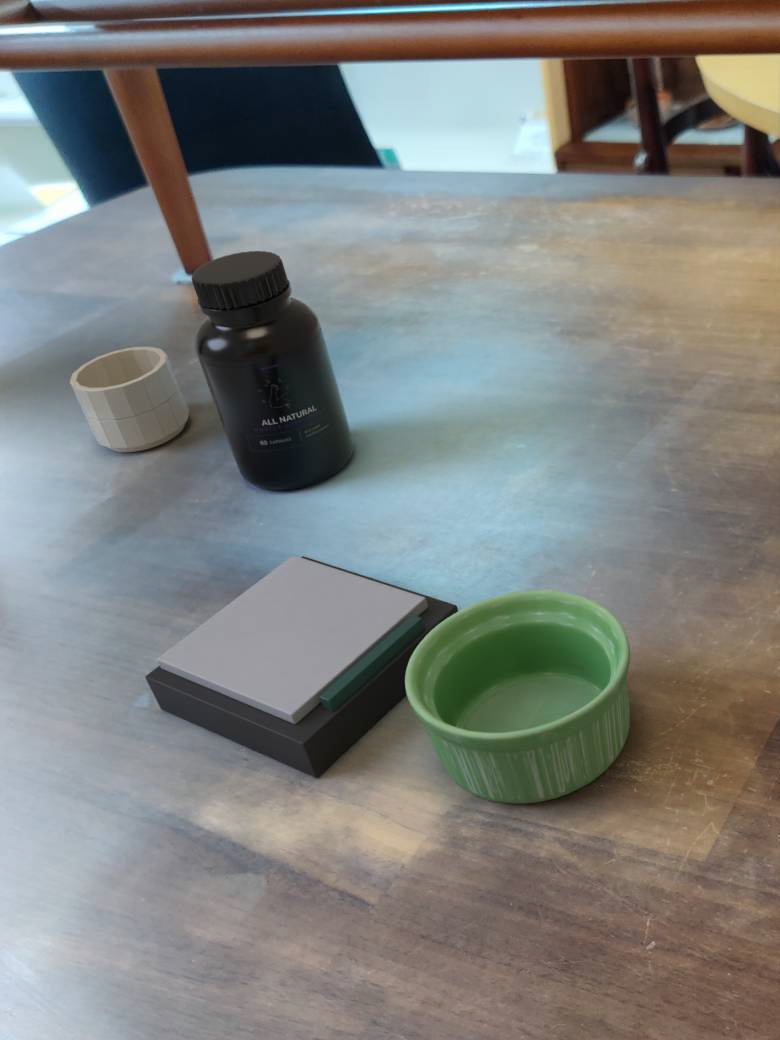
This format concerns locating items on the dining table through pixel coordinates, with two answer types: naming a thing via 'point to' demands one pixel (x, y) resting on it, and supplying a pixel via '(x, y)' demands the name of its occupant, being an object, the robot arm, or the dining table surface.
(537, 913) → the dining table surface
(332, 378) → the supplement bottle
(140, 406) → the cream bowl
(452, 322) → the dining table surface
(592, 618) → the ramekin
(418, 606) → the kitchen scale
